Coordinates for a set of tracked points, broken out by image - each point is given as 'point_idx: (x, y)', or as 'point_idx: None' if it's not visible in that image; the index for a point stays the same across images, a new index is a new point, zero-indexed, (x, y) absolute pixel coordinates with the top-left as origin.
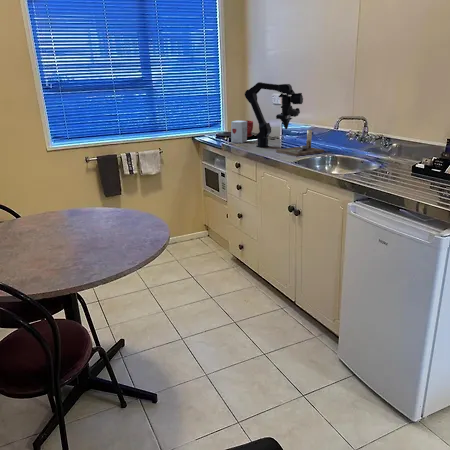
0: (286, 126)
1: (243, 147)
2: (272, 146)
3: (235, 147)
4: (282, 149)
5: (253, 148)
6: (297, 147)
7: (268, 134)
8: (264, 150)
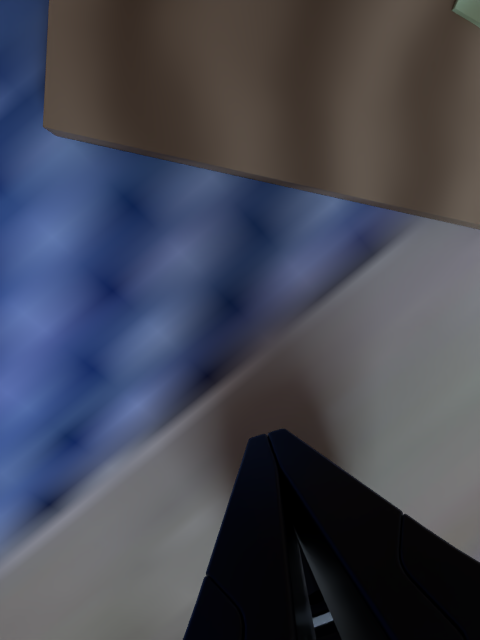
0: (335, 475)
1: None
2: (221, 487)
3: None
4: (454, 186)
5: (426, 511)
6: (207, 137)
7: (316, 627)
8: (461, 379)
